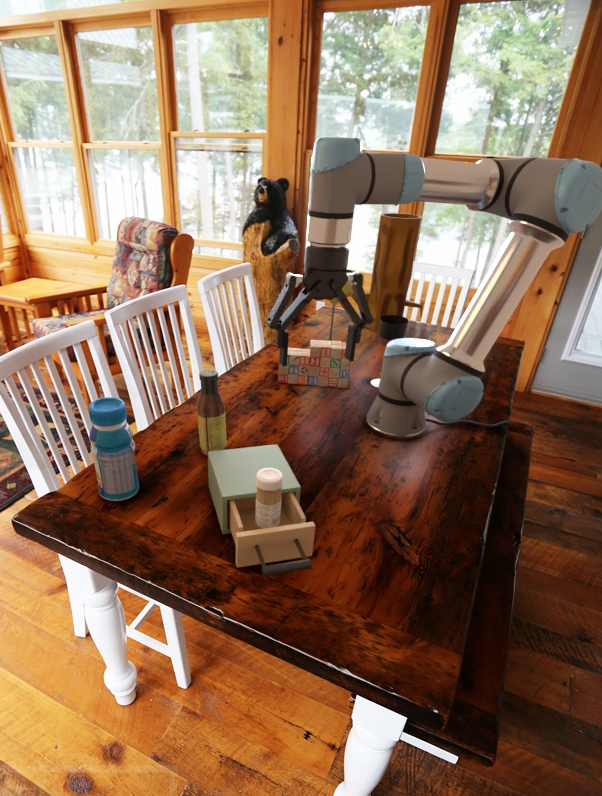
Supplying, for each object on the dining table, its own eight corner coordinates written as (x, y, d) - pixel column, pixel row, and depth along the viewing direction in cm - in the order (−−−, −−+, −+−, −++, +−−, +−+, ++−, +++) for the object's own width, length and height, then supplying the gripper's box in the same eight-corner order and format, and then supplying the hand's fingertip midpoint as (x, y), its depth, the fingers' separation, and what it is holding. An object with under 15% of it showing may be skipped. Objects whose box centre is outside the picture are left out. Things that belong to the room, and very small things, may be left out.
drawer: (325, 583, 84) (330, 552, 81) (246, 597, 81) (246, 566, 78) (288, 506, 102) (290, 477, 98) (221, 515, 99) (220, 486, 95)
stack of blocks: (277, 383, 154) (279, 344, 147) (278, 375, 159) (280, 337, 153) (347, 388, 153) (353, 349, 146) (346, 380, 158) (352, 341, 151)
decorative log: (360, 209, 192) (442, 216, 185) (347, 316, 214) (419, 325, 207) (354, 214, 180) (441, 221, 173) (340, 326, 203) (417, 336, 195)
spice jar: (270, 524, 95) (273, 463, 88) (284, 537, 92) (288, 476, 85) (249, 532, 93) (250, 471, 86) (263, 546, 90) (265, 484, 82)
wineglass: (367, 386, 154) (377, 321, 143) (373, 376, 161) (383, 313, 150) (393, 391, 152) (405, 325, 141) (398, 380, 159) (410, 317, 148)
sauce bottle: (230, 447, 122) (230, 369, 111) (220, 460, 117) (219, 380, 106) (205, 442, 123) (203, 365, 113) (194, 454, 118) (190, 375, 108)
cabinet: (297, 523, 99) (300, 487, 94) (222, 534, 95) (222, 497, 90) (275, 478, 111) (277, 444, 107) (208, 486, 108) (207, 451, 103)
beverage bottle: (119, 508, 101) (105, 419, 90) (89, 493, 105) (73, 406, 94) (148, 487, 107) (139, 402, 96) (119, 474, 111) (107, 390, 100)
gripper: (384, 239, 93) (367, 350, 104) (251, 240, 87) (249, 358, 99) (404, 246, 87) (383, 364, 98) (262, 248, 81) (258, 373, 92)
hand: (316, 361), depth 98 cm, fingers open, 13 cm apart
